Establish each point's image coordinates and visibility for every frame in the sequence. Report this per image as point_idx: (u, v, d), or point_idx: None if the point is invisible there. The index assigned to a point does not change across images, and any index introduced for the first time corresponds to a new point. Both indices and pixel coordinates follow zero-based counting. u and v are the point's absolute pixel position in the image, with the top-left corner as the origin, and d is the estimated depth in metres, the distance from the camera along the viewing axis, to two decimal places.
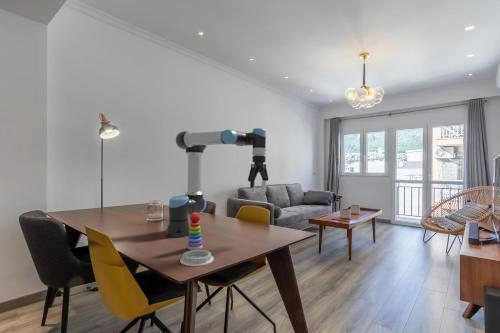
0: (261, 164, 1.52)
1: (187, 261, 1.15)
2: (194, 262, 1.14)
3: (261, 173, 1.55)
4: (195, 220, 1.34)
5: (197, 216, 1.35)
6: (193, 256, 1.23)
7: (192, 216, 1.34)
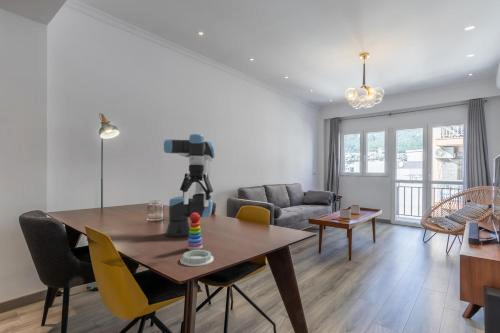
0: (196, 174, 1.35)
1: (187, 261, 1.15)
2: (194, 262, 1.14)
3: None
4: (195, 220, 1.34)
5: (197, 216, 1.35)
6: (193, 256, 1.23)
7: (192, 216, 1.34)
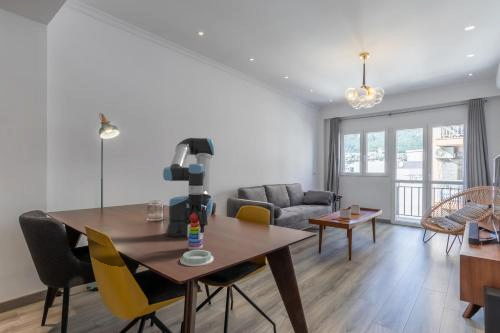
0: (196, 202, 1.35)
1: (187, 261, 1.15)
2: (194, 262, 1.14)
3: None
4: (195, 220, 1.34)
5: (197, 216, 1.35)
6: (193, 256, 1.23)
7: (192, 216, 1.34)
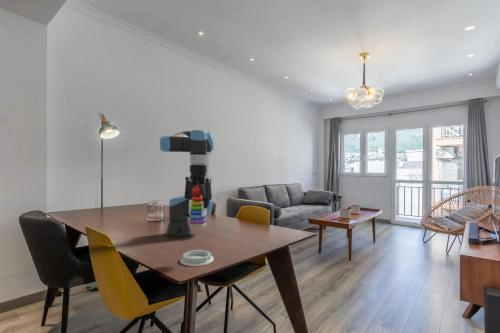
0: (199, 174, 1.19)
1: (187, 261, 1.15)
2: (194, 262, 1.14)
3: None
4: (198, 194, 1.18)
5: None
6: (193, 256, 1.23)
7: (194, 189, 1.18)
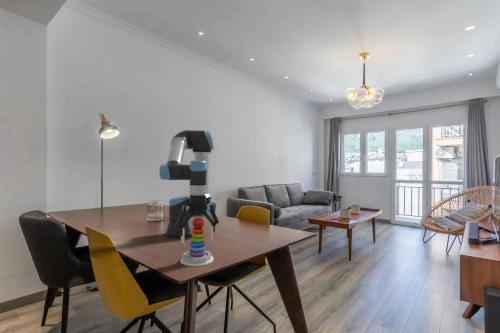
0: (201, 205, 1.20)
1: (187, 261, 1.15)
2: (194, 262, 1.14)
3: (205, 216, 1.23)
4: (202, 226, 1.20)
5: (203, 221, 1.21)
6: None
7: (200, 222, 1.18)
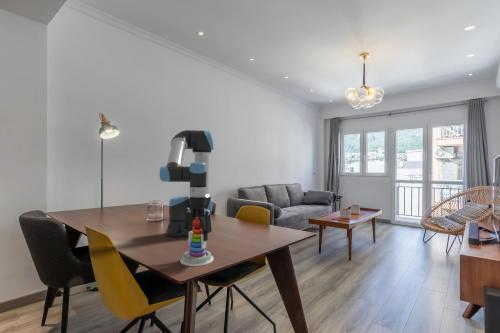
0: (198, 206, 1.19)
1: (187, 261, 1.15)
2: (194, 262, 1.14)
3: None
4: None
5: None
6: None
7: None
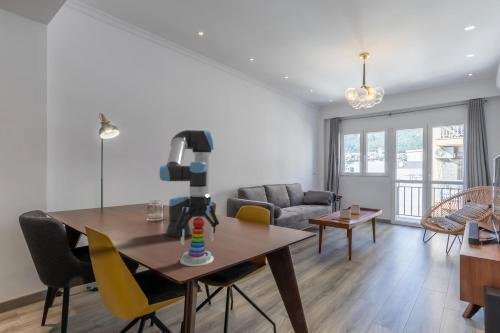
0: (200, 206, 1.20)
1: (187, 261, 1.15)
2: (194, 262, 1.14)
3: (205, 217, 1.23)
4: None
5: None
6: None
7: (203, 220, 1.21)
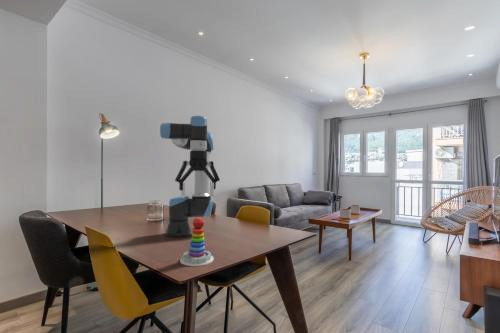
0: (201, 161, 1.20)
1: (187, 261, 1.15)
2: (194, 262, 1.14)
3: (205, 173, 1.23)
4: None
5: None
6: None
7: (203, 220, 1.21)
